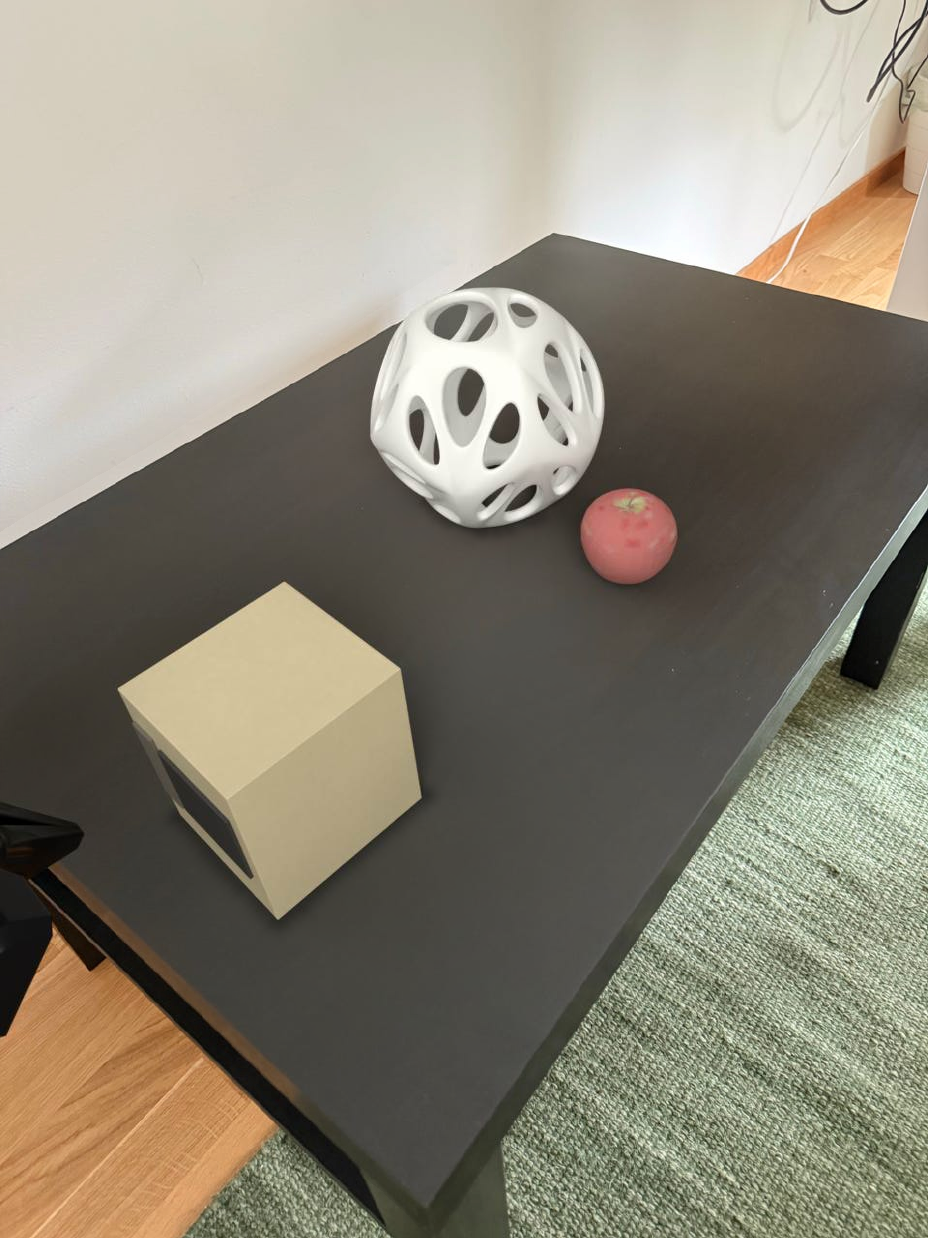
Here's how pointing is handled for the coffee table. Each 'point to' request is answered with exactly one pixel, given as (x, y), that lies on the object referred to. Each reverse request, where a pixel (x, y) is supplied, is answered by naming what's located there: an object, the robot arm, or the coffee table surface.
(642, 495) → the apple
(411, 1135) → the coffee table surface
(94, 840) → the coffee table surface
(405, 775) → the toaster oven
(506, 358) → the decorative ball
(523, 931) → the coffee table surface
